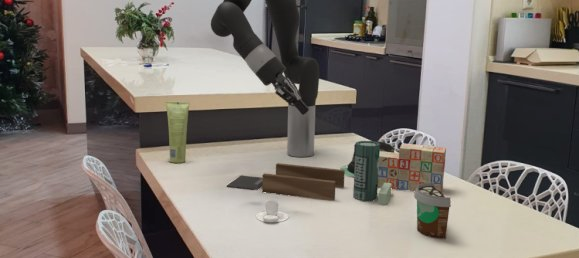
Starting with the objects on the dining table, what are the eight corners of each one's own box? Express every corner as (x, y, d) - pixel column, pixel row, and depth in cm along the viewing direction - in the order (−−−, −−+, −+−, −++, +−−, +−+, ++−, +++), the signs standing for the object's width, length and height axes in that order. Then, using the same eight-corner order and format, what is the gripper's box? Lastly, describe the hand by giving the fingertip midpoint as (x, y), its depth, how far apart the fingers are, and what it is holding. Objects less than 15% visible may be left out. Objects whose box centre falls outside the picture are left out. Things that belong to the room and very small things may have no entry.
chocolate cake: (417, 167, 191) (393, 184, 175) (369, 185, 202) (341, 203, 185) (398, 124, 192) (371, 137, 175) (350, 144, 202) (321, 158, 186)
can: (381, 198, 162) (384, 144, 159) (365, 202, 158) (368, 147, 155) (364, 192, 167) (366, 139, 164) (349, 196, 163) (351, 142, 160)
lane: (277, 179, 177) (277, 163, 176) (344, 186, 172) (344, 169, 171) (262, 192, 165) (262, 174, 164) (333, 200, 159) (334, 182, 158)
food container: (405, 221, 145) (408, 181, 143) (430, 221, 146) (433, 181, 144) (420, 241, 133) (423, 198, 131) (447, 241, 134) (451, 198, 132)
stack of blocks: (364, 186, 173) (366, 144, 171) (369, 180, 179) (371, 139, 177) (441, 195, 167) (444, 152, 164) (443, 188, 172) (446, 147, 170)
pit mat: (241, 176, 180) (241, 171, 179) (270, 179, 177) (270, 174, 177) (226, 187, 169) (226, 181, 169) (257, 190, 167) (257, 185, 166)
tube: (182, 158, 198) (181, 99, 194) (190, 161, 195) (189, 101, 191) (166, 161, 195) (165, 101, 191) (174, 164, 191) (173, 103, 187)
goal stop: (383, 193, 167) (384, 182, 166) (390, 193, 166) (391, 183, 166) (377, 204, 158) (378, 193, 157) (385, 205, 157) (386, 194, 156)
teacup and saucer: (274, 227, 141) (275, 211, 140) (247, 220, 145) (247, 204, 144) (294, 217, 148) (295, 201, 147) (267, 210, 152) (268, 195, 151)
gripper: (267, 56, 158) (311, 106, 157) (281, 54, 170) (321, 100, 169) (247, 75, 160) (290, 125, 159) (262, 71, 172) (302, 117, 172)
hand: (306, 112), depth 164 cm, fingers closed
